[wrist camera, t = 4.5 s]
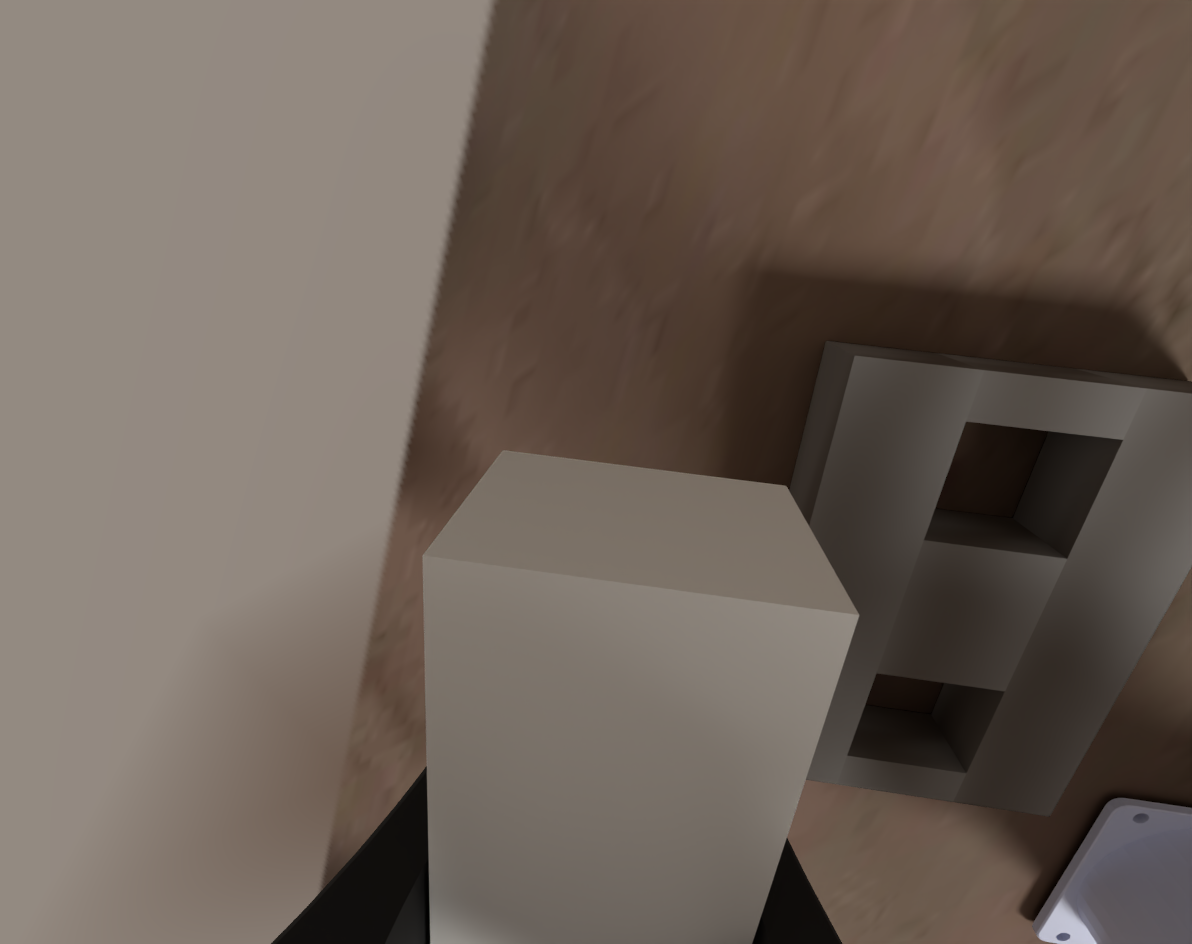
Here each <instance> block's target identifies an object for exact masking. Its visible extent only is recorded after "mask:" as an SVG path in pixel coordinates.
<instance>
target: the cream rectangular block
mask: <svg viewBox="0 0 1192 944" xmlns="http://www.w3.org/2000/svg"><path fill="white" fill-rule="evenodd" d="M423 601H424V651H425V702H426V752H427V802H428V852H429V903H430V944H752V943H753V940H754V937H755V933H756V930H757V927H758V924H759V921H760V918H761V915H762V912H763V909H764V906H765V903H766V900H767V897H768V894H769V891H770V888H771V884H772V881H773V878H774V875H775V872H776V869H777V866H778V863H779V860H780V857H781V854H782V851H783V848H784V845H785V842H786V838H787V835H788V832H789V829H790V826H791V823H792V820H793V817H794V814H795V811H796V808H797V805H798V802H799V799H800V796H801V793H802V789H803V786H804V783H805V780H806V777H807V774H808V771H809V768H810V765H811V762H812V759H813V756H814V753H815V750H816V747H817V744H818V740H819V737H820V734H821V731H822V728H823V725H824V722H825V719H826V716H827V713H828V710H829V707H830V704H831V701H832V698H833V694H834V691H835V688H836V685H837V682H838V679H839V676H840V673H841V670H842V667H843V664H844V661H845V658H846V655H847V652H848V649H849V645H850V642H851V639H852V636H853V633H854V630H855V627H856V624H857V621H858V618H859V614H858V612H857V610H856V608H855V607H854V605H853V603H852V601H851V599H850V598H849V596H848V594H847V592H846V591H845V589H844V587H843V585H842V584H841V582H840V580H839V578H838V576H837V575H836V573H835V571H834V569H833V568H832V566H831V564H830V562H829V561H828V559H827V557H826V555H825V553H824V552H823V550H822V548H821V546H820V545H819V543H818V541H817V539H816V538H815V536H814V534H813V532H812V530H811V529H810V527H809V525H808V523H807V522H806V520H805V518H804V516H803V515H802V513H801V511H800V509H799V508H798V506H797V504H796V502H795V500H794V499H793V497H792V495H791V493H790V492H789V490H788V488H787V486H784V485H776V484H769V483H761V482H753V481H745V480H737V479H729V478H721V477H713V476H705V475H697V474H689V473H681V472H673V471H665V470H657V469H649V468H641V467H633V466H625V465H617V464H609V463H601V462H593V461H585V460H577V459H569V458H561V457H554V456H546V455H538V454H530V453H522V452H514V451H506V450H503V451H502V452H501V453H500V455H499V456H498V457H497V458H496V460H495V461H494V462H493V464H492V465H491V466H490V468H489V469H488V470H487V472H486V473H485V474H484V476H483V477H482V478H481V479H480V481H479V482H478V483H477V485H476V486H475V487H474V489H473V490H472V491H471V493H470V494H469V495H468V497H467V498H466V499H465V500H464V502H463V503H462V504H461V506H460V507H459V508H458V510H457V511H456V512H455V514H454V515H453V516H452V518H451V519H450V520H449V521H448V523H447V524H446V525H445V527H444V528H443V529H442V531H441V532H440V533H439V535H438V536H437V537H436V539H435V540H434V541H433V542H432V544H431V545H430V546H429V548H428V549H427V550H426V552H425V553H424V554H423Z"/></svg>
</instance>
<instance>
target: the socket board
mask: <svg viewBox="0 0 1192 944" xmlns="http://www.w3.org/2000/svg"><path fill="white" fill-rule="evenodd" d="M966 421H967V422H975V423H984V424H992V425H1001V426H1009V427H1018V428H1026V429H1035V430H1043V431H1049V432H1048V434H1047V437H1046V439H1045V442H1044V444H1043V447H1042V449H1041V451H1040V454H1039V456H1038V459H1037V461H1036V463H1035V466H1034V468H1033V471H1032V473H1031V475H1030V478H1029V480H1028V483H1027V485H1026V487H1025V490H1024V492H1023V495H1022V497H1021V499H1020V502H1019V504H1018V507H1017V509H1016V511H1015V514H1014V516H1013V518H1007V517H999V516H991V515H983V514H975V513H967V512H959V511H951V510H943V509H935V507H936V505H937V502H938V499H939V496H940V493H941V491H942V488H943V485H944V482H945V479H946V476H947V474H948V471H949V468H950V465H951V462H952V460H953V457H954V454H955V451H956V448H957V446H958V443H959V440H960V437H961V434H962V432H963V429H964V426H965V423H966ZM789 492H790V493H791V495H792V497H793V499H794V500H795V502H796V504H797V506H798V508H799V509H800V511H801V513H802V515H803V516H804V518H805V520H806V522H807V523H808V525H809V527H810V529H811V530H812V532H813V534H814V536H815V538H816V539H817V541H818V543H819V545H820V546H821V548H822V550H823V552H824V553H825V555H826V557H827V559H828V561H829V562H830V564H831V566H832V568H833V569H834V571H835V573H836V575H837V576H838V578H839V580H840V582H841V584H842V585H843V587H844V589H845V591H846V592H847V594H848V596H849V598H850V599H851V601H852V603H853V605H854V607H855V608H856V610H857V612H858V614H859V618H858V621H857V624H856V627H855V630H854V633H853V636H852V639H851V642H850V645H849V649H848V652H847V655H846V658H845V661H844V664H843V667H842V670H841V673H840V676H839V679H838V682H837V685H836V688H835V691H834V694H833V698H832V701H831V704H830V707H829V710H828V713H827V716H826V719H825V722H824V725H823V728H822V731H821V734H820V737H819V740H818V744H817V747H816V750H815V753H814V756H813V759H812V762H811V765H810V768H809V771H808V774H807V777H806V780H812V781H819V782H825V783H832V784H838V785H845V786H851V787H858V788H865V789H871V790H878V791H884V792H891V793H897V794H904V795H911V796H917V797H924V798H930V799H937V800H943V801H950V802H957V803H963V804H970V805H976V806H983V807H989V808H996V809H1003V810H1009V811H1016V812H1022V813H1029V814H1035V815H1042V816H1048V817H1050V815H1051V814H1052V812H1053V810H1054V808H1055V806H1056V805H1057V803H1058V801H1059V799H1060V798H1061V796H1062V794H1063V792H1064V791H1065V789H1066V787H1067V785H1068V784H1069V782H1070V780H1071V778H1072V777H1073V775H1074V773H1075V771H1076V769H1077V768H1078V766H1079V764H1080V762H1081V761H1082V759H1083V757H1084V755H1085V754H1086V752H1087V750H1088V748H1089V747H1090V745H1091V743H1092V741H1093V740H1094V738H1095V736H1096V734H1097V733H1098V731H1099V729H1100V727H1101V725H1102V724H1103V722H1104V720H1105V718H1106V717H1107V715H1108V713H1109V711H1110V710H1111V708H1112V706H1113V704H1114V703H1115V701H1116V699H1117V697H1118V696H1119V694H1120V692H1121V690H1122V688H1123V687H1124V685H1125V683H1126V681H1127V680H1128V678H1129V676H1130V674H1131V673H1132V671H1133V669H1134V667H1135V666H1136V664H1137V662H1138V660H1139V659H1140V657H1141V655H1142V653H1143V652H1144V650H1145V648H1146V646H1147V644H1148V643H1149V641H1150V639H1151V637H1152V636H1153V634H1154V632H1155V630H1156V629H1157V627H1158V625H1159V623H1160V622H1161V620H1162V618H1163V616H1164V615H1165V613H1166V611H1167V609H1168V607H1169V606H1170V604H1171V602H1172V600H1173V599H1174V597H1175V595H1176V593H1177V592H1178V590H1179V588H1180V586H1181V585H1182V583H1183V581H1184V579H1185V578H1186V576H1187V574H1188V572H1189V570H1190V569H1191V567H1192V382H1191V381H1182V380H1173V379H1164V378H1155V377H1146V376H1137V375H1128V374H1119V373H1110V372H1101V371H1092V370H1083V369H1074V368H1065V367H1056V366H1047V365H1038V364H1030V363H1021V362H1012V361H1003V360H994V359H985V358H976V357H967V356H958V355H949V354H940V353H931V352H922V351H913V350H904V349H895V348H886V347H877V346H868V345H859V344H850V343H841V342H832V341H826V342H825V346H824V350H823V355H822V359H821V363H820V367H819V371H818V375H817V379H816V383H815V387H814V391H813V395H812V399H811V403H810V407H809V411H808V416H807V420H806V424H805V428H804V432H803V436H802V440H801V444H800V448H799V452H798V456H797V460H796V464H795V468H794V472H793V477H792V481H791V485H790V489H789ZM876 673H878V674H885V675H892V676H899V677H906V678H913V679H920V680H928V681H935V682H942V683H944V685H943V687H942V689H941V692H940V694H939V697H938V699H937V701H936V704H935V706H934V709H933V711H932V714H924V713H917V712H910V711H903V710H896V709H889V708H882V707H875V706H868V705H865V704H866V701H867V698H868V696H869V693H870V690H871V687H872V684H873V682H874V679H875V676H876Z"/></svg>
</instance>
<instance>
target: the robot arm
mask: <svg viewBox="0 0 1192 944" xmlns="http://www.w3.org/2000/svg"><path fill="white" fill-rule="evenodd" d="M1032 927H1033V930H1034V931H1035V933H1036V935H1037V937H1038V938H1039V939H1041V940H1043V941H1046V942H1052V943H1058V944H1192V808H1189V807H1182V806H1176V805H1169V804H1162V803H1155V802H1149V801H1142V800H1135V799H1129V798H1115V799H1112V800H1110V801H1109V802H1108V803H1107V804H1106V805H1105V807H1104V808H1103V810H1102V811H1101V813H1100V815H1099V816H1098V818H1097V820H1096V821H1095V823H1094V824H1093V826H1092V828H1091V829H1090V831H1089V833H1088V834H1087V836H1086V837H1085V839H1084V841H1083V842H1082V844H1081V846H1080V847H1079V849H1078V851H1077V852H1076V854H1075V855H1074V857H1073V859H1072V860H1071V862H1070V864H1069V865H1068V867H1067V868H1066V870H1065V872H1064V873H1063V875H1062V877H1061V878H1060V880H1059V881H1058V883H1057V885H1056V886H1055V888H1054V890H1053V891H1052V893H1051V895H1050V896H1049V898H1048V899H1047V901H1046V903H1045V904H1044V906H1043V908H1042V909H1041V911H1040V912H1039V914H1038V916H1037V917H1036V919H1035V921H1034V922H1033V925H1032ZM271 944H430V903H429V852H428V802H427V766H426V768H425V769H424V770H423V772H422V773H421V774H420V776H419V777H418V778H417V779H416V781H415V782H414V783H413V785H412V786H411V787H410V788H409V790H408V791H407V792H406V794H405V795H404V796H403V797H402V799H401V800H400V801H399V802H398V804H397V805H396V806H395V807H394V809H393V810H392V811H391V812H390V813H389V815H388V816H387V817H386V818H385V819H384V821H383V822H382V823H381V824H380V825H379V826H378V828H377V829H376V830H375V831H374V832H373V834H372V835H371V836H370V837H369V838H368V840H367V841H366V842H365V843H364V844H363V846H362V847H361V848H360V849H359V850H358V851H357V853H356V854H355V855H354V856H353V857H352V858H351V859H350V860H349V861H348V863H347V864H346V865H345V866H344V867H343V868H342V869H341V870H340V871H339V872H338V874H337V875H336V876H335V877H334V878H333V879H332V880H331V881H330V882H329V883H328V884H327V886H326V887H325V888H324V889H323V890H322V891H321V892H320V893H319V894H318V895H317V897H316V898H315V899H314V900H313V901H312V902H311V903H310V904H309V906H307V908H306V909H304V910H303V912H302V913H301V914H300V915H299V916H298V917H297V918H296V919H295V920H294V921H293V922H292V923H291V924H290V925H289V926H288V927H287V928H286V929H285V930H284V931H283V932H282V933H281V934H280V935H279V936H278V937H277V938H276V939H275V940H274V941H273V943H271ZM752 944H842V942H841V940H840V939H839V937H838V935H837V933H836V931H835V929H834V927H833V926H832V924H831V922H830V920H829V918H828V916H827V914H826V913H825V911H824V909H823V907H822V905H821V903H820V901H819V900H818V898H817V896H816V894H815V892H814V890H813V888H812V886H811V885H810V883H809V881H808V879H807V877H806V875H805V873H804V871H803V869H802V867H801V865H800V863H799V861H798V859H797V857H796V855H795V853H794V851H793V849H792V847H791V845H790V843H789V841H788V839H787V838H786V842H785V845H784V848H783V851H782V854H781V857H780V860H779V863H778V866H777V869H776V872H775V875H774V878H773V881H772V884H771V888H770V891H769V894H768V897H767V900H766V903H765V906H764V909H763V912H762V915H761V918H760V921H759V924H758V927H757V930H756V933H755V937H754V940H753V943H752Z"/></svg>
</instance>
